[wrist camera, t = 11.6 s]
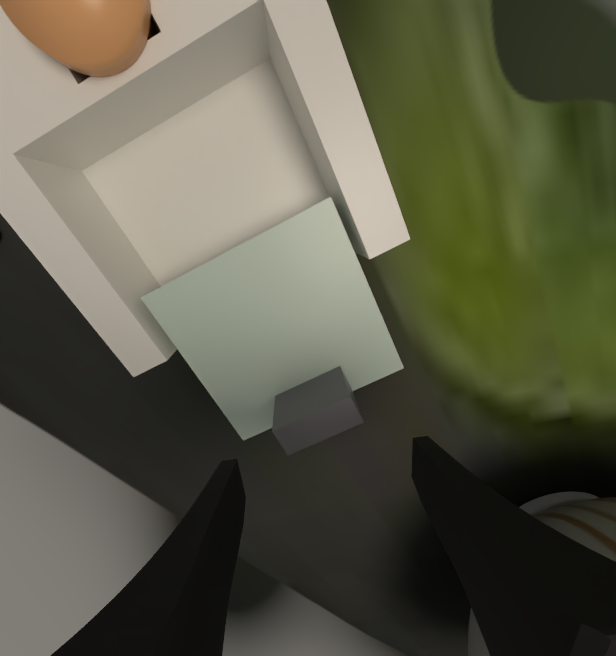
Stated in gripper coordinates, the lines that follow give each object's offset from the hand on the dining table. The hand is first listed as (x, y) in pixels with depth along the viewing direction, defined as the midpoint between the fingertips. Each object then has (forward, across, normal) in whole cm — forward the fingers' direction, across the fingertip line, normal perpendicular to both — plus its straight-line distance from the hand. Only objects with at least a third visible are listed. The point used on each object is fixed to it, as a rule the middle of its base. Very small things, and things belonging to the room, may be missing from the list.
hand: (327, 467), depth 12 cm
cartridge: (+8, +1, -4) cm, 9 cm away
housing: (+9, +5, -13) cm, 16 cm away
